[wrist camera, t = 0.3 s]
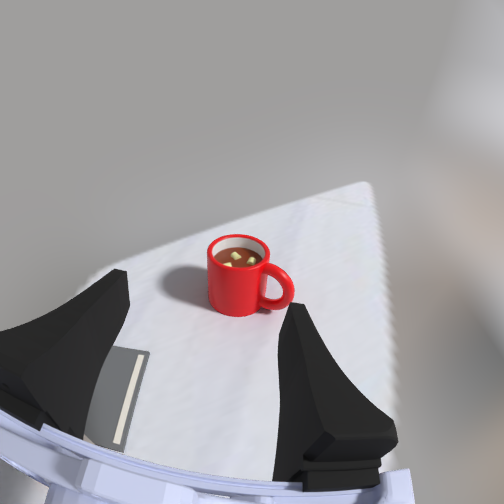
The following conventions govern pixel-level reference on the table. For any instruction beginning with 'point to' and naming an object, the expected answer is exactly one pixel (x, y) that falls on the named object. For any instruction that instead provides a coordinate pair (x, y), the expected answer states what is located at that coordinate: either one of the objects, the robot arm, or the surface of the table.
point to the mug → (243, 276)
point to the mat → (115, 397)
